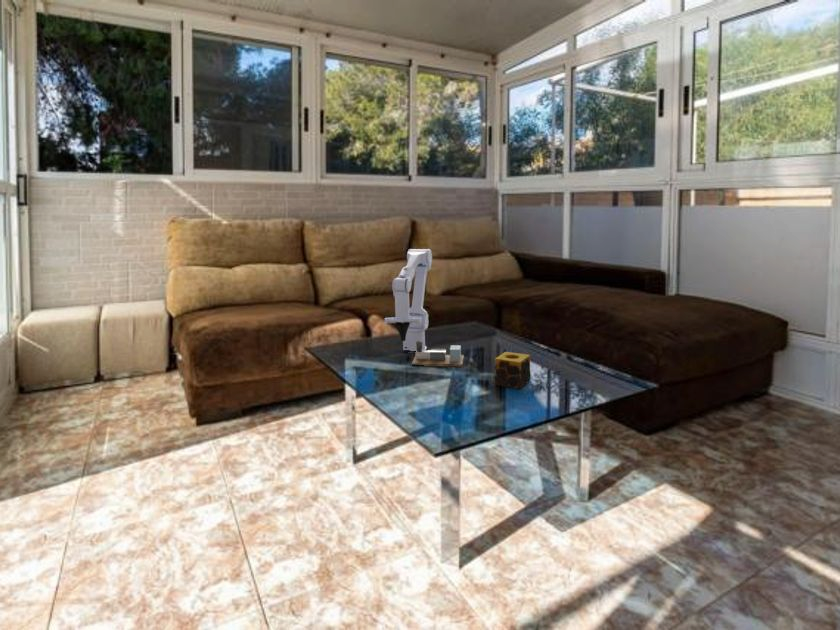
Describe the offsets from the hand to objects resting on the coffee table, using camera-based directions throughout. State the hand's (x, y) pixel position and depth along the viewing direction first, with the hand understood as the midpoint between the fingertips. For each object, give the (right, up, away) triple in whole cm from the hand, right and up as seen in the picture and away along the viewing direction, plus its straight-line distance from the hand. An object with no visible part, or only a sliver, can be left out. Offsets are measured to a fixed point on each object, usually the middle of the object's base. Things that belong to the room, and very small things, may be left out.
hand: (403, 340), depth 227 cm
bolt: (+11, -7, 0) cm, 13 cm away
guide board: (+14, -9, 0) cm, 17 cm away
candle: (+40, -14, -27) cm, 50 cm away
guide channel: (+14, -9, 0) cm, 17 cm away
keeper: (+21, -9, -1) cm, 23 cm away
